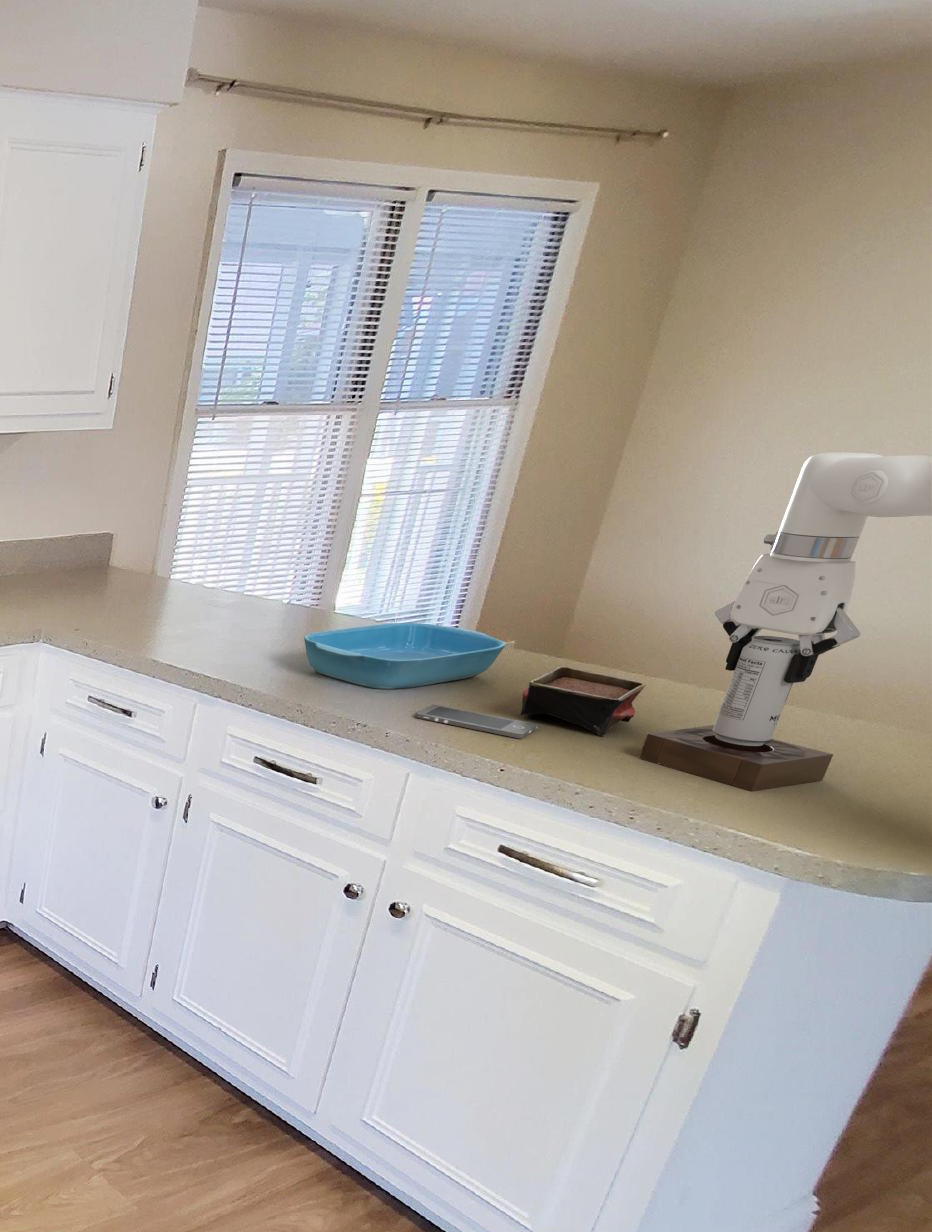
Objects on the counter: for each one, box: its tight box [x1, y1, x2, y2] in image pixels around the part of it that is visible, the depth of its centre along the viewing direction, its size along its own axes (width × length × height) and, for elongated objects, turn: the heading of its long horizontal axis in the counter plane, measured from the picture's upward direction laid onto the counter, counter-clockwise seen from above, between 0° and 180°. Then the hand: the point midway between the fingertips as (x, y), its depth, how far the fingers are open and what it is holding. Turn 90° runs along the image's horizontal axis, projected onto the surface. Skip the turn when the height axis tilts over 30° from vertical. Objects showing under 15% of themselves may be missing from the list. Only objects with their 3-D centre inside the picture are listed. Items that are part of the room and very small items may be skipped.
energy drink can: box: [713, 635, 800, 746], centre depth 145 cm, size 6×6×15 cm
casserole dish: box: [303, 622, 507, 690], centre depth 199 cm, size 37×22×7 cm, turn 108°
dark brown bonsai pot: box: [519, 666, 646, 738], centre depth 170 cm, size 14×18×10 cm
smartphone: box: [414, 704, 539, 739], centre depth 171 cm, size 15×8×1 cm, turn 36°
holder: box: [638, 724, 834, 792], centre depth 149 cm, size 14×14×4 cm
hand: (764, 674), depth 145 cm, fingers closed on energy drink can, 6 cm apart
